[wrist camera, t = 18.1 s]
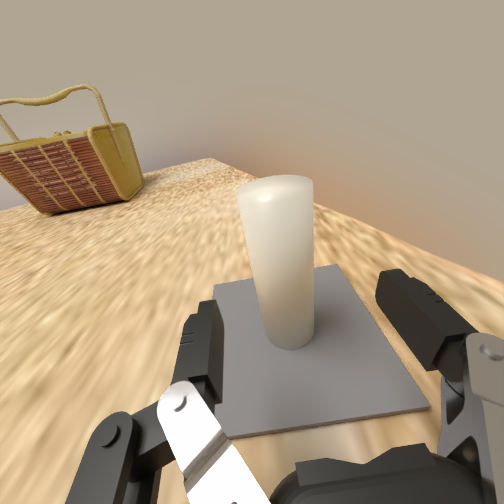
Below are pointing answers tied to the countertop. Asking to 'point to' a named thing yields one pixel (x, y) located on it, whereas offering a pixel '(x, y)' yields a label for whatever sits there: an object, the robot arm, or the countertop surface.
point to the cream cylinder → (281, 255)
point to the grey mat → (308, 365)
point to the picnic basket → (71, 162)
